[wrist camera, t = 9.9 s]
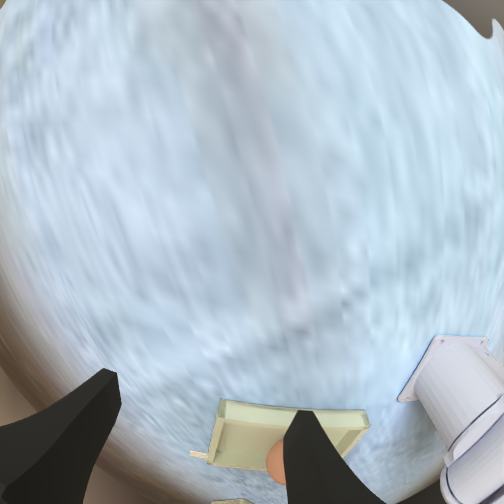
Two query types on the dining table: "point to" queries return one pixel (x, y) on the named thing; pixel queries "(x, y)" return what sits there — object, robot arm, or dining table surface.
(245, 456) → the tray
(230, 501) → the skincare box
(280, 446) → the ball
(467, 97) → the dining table surface
